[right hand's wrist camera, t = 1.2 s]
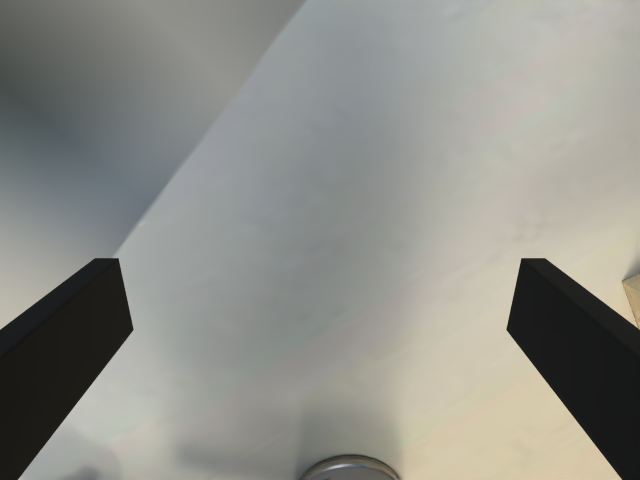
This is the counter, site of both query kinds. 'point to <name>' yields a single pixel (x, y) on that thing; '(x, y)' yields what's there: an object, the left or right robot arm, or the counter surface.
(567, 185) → the counter surface
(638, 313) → the chest
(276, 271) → the counter surface
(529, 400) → the counter surface
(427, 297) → the counter surface
